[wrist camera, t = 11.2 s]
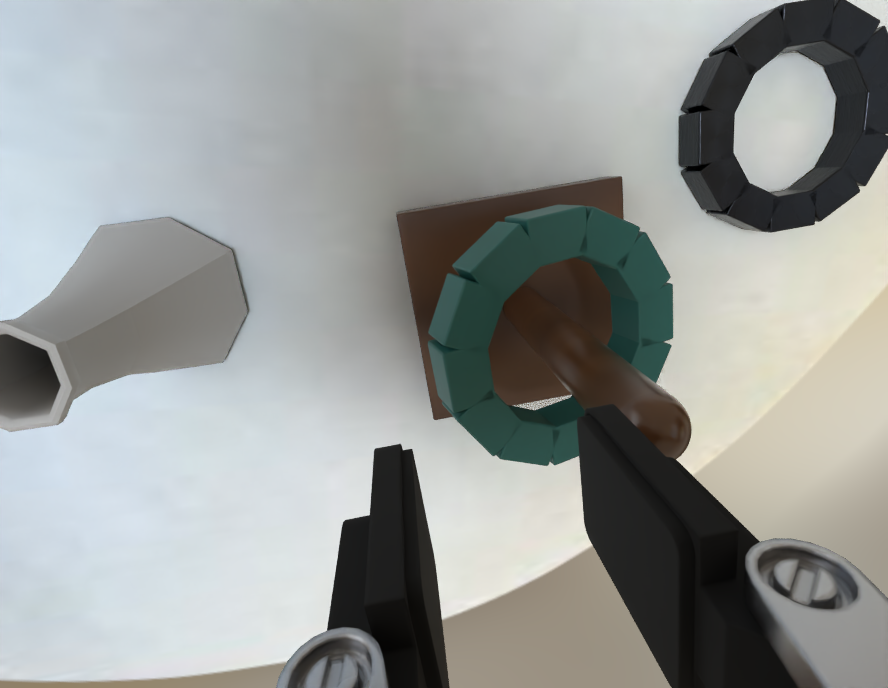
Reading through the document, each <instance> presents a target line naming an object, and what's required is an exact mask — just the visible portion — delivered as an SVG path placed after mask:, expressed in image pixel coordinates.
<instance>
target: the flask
mask: <svg viewBox="0 0 888 688" xmlns="http://www.w3.org/2000/svg"><path fill="white" fill-rule="evenodd" d="M247 312H248V311H247V307H246V303H245V299H244V295H243V292H242V288H241V284H240V280H239V276H238V272H237V268H236V264H235V260H234V257H233V253H232V250H231V249H229V248H227V247H225V246H223V245H221V244H219V243H217V242H215V241H213V240H211V239H209V238H207V237H205V236H204V235H202V234H200V233H198V232H196V231H194V230H192V229H190V228H188V227H186V226H184V225H182V224H180V223H178V222H176V221H174V220H172V219H170V218H168V217H166V218H158V219H150V220H142V221H135V222H127V223H119V224H111V225H103V226H99V228H98V229H97V230H96V232H95V233H94V234H93V236H92V237H91V239H90V240H89V242H88V244H87V245H86V247H85V248H84V250H83V251H82V253H81V254H80V256H79V257H78V259H77V260H76V262H75V263H74V264H73V266H72V267H71V268H70V270H69V271H68V272H67V273H66V275H65V276H64V277H63V279H62V280H61V281H60V283H59V284H58V285H57V286H56V288H55V289H54V290H53V292H52V293H51V294H50V295H49V296H48V297H47V298H45V299H44V300H42V301H41V302H40V303H38V304H37V305H36V306H34V307H33V308H31V309H30V310H29V311H27V312H26V313H24V314H23V315H22V316H20V317H19V318H16V319H14V320H5V321H0V428H1V429H4V430H7V431H9V432H13V431H20V430H26V429H33V428H40V427H47V426H53V425H58V424H60V423H61V422H63V421H64V419H65V418H66V416H67V414H68V411H69V409H70V406H71V404H72V401H73V400H74V399H76V398H77V397H79V396H80V395H82V394H83V393H85V392H86V391H88V390H89V389H91V388H93V387H96V386H99V385H101V384H104V383H107V382H110V381H112V380H115V379H118V378H121V377H123V376H126V375H130V374H142V373H154V372H161V371H168V370H175V369H182V368H189V367H196V366H202V365H209V364H216V363H223V362H224V360H225V358H226V356H227V354H228V351H229V349H230V347H231V345H232V343H233V341H234V339H235V337H236V335H237V333H238V331H239V329H240V326H241V324H242V322H243V320H244V318H245V316H246V314H247Z"/></svg>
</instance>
